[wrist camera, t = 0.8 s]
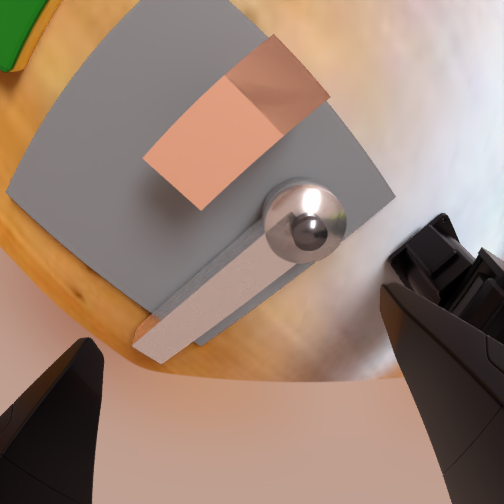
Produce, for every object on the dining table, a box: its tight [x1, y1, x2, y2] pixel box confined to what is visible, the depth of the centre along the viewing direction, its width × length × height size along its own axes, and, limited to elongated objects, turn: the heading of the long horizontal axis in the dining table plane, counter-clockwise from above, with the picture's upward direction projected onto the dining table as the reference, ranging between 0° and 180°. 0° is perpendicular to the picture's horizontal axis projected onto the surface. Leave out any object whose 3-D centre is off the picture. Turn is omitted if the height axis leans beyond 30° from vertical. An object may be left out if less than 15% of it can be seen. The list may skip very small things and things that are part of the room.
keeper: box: [143, 34, 330, 210], centre depth 15 cm, size 4×8×4 cm, turn 133°
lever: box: [132, 177, 347, 364], centre depth 21 cm, size 18×5×3 cm, turn 133°
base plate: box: [6, 0, 396, 346], centre depth 20 cm, size 21×20×1 cm
